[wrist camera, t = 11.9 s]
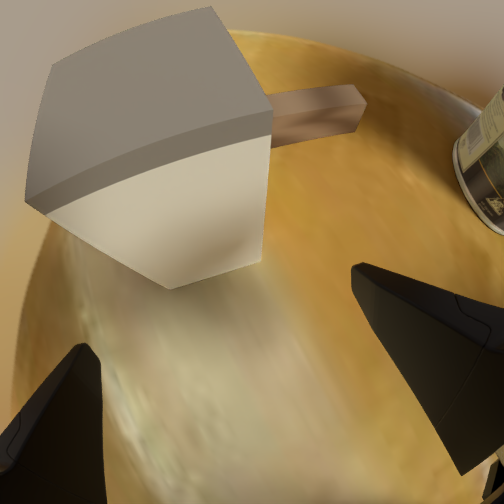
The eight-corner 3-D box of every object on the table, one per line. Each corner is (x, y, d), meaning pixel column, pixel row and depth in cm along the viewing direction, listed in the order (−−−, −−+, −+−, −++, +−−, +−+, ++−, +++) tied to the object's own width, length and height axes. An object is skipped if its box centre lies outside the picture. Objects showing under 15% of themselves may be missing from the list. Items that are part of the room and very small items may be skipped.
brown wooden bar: (339, 107, 20) (349, 79, 17) (354, 131, 19) (367, 103, 16) (109, 168, 18) (90, 144, 15) (111, 198, 18) (90, 175, 15)
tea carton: (260, 261, 17) (273, 109, 5) (169, 289, 16) (24, 201, 5) (232, 178, 18) (210, 4, 6) (150, 204, 18) (53, 61, 6)
